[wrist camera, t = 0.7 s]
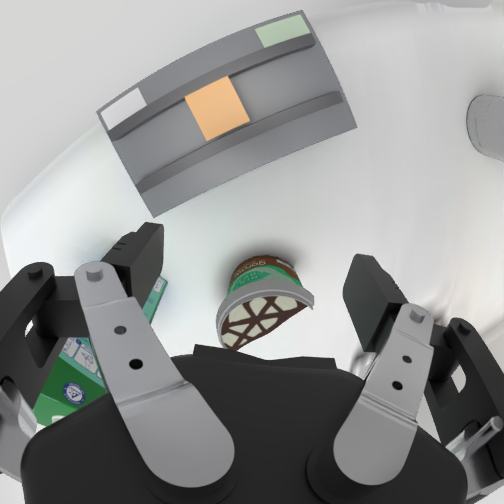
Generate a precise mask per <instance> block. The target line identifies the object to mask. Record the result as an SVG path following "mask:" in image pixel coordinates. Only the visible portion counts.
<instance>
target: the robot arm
mask: <svg viewBox="0 0 504 504" xmlns="http://www.w3.org/2000/svg"><path fill="white" fill-rule="evenodd" d="M467 127H468V133H469V136H470V139H471V141H472V143H473V145H474V147H475V148H476V149H477V150H478V151H479V152H480V153H482V154H484V155H487V156H490V157H493V158H495V159H498V160H501V161H503V162H504V97H496V96H484V95H482V96H478V97H476V98H475V99H474V100H473V101H472V103H471V105H470V107H469V110H468V116H467ZM163 247H164V226H163V224H156V223H149V222H145V223H144V224H143V225H142V226H141V227H140V228H139V230H138V231H137V232H130V233H128V234H126V235H124V236H122V237H121V238H120V240H119V241H118V242H117V244H115V245H114V246H113V247H112V249H110V251H109V252H108V253H107V254H106V255H105V256H104V257H103V258H102V260H101V261H100V262H98V261H97V262H89V263H86V264H83V265H82V266H80V267H79V268H77V270H76V271H75V274H74V276H55V274H54V269H53V266H52V265H51V264H49V263H45V262H36V263H32V264H29V265H27V266H25V267H24V268H22V269H21V270H20V271H19V272H18V273H17V274H16V275H15V276H14V278H13V279H12V280H11V281H10V282H9V283H8V284H7V285H6V286H5V287H4V288H3V289H2V291H1V292H0V474H2V473H4V474H6V475H8V476H10V477H11V478H13V479H15V480H17V481H19V482H21V483H22V487H23V491H24V499H25V504H474V503H476V502H477V501H479V500H481V499H482V498H484V497H486V496H487V495H489V494H490V493H492V492H494V491H495V490H497V489H498V488H500V487H501V486H503V485H504V373H503V372H502V370H501V368H500V367H499V365H498V364H497V362H496V360H495V359H494V357H493V355H492V354H491V352H490V351H489V349H488V347H487V346H486V344H485V343H484V341H483V340H482V338H481V337H480V335H479V334H478V332H477V331H476V329H475V328H474V327H473V326H472V325H471V324H470V323H469V322H467V321H466V320H464V319H461V318H452V319H451V321H450V322H449V324H448V326H447V327H443V326H439V325H436V324H433V323H434V320H433V317H432V315H431V314H430V313H429V312H428V311H427V310H426V309H424V308H423V307H421V306H419V305H416V304H412V303H409V302H408V301H407V299H406V298H405V296H404V295H403V293H402V292H401V290H400V289H399V287H398V286H397V284H395V281H394V280H393V278H392V277H391V276H390V275H389V274H388V273H387V272H386V271H384V270H383V269H382V268H381V266H380V265H379V263H378V262H377V261H376V259H375V258H374V257H373V256H369V255H363V254H356V255H355V256H354V258H353V260H352V263H351V266H350V269H349V272H348V275H347V278H346V280H345V283H344V287H343V299H344V302H345V304H346V307H347V309H348V312H349V314H350V317H351V319H352V322H353V325H354V327H355V330H356V332H357V335H358V337H359V340H360V343H361V345H362V348H363V351H364V352H376V356H375V357H374V359H373V361H372V363H371V365H370V367H369V368H368V370H367V372H366V374H365V376H364V377H363V379H361V378H359V377H358V376H356V375H354V374H352V373H349V372H347V371H344V370H341V369H337V367H336V363H335V359H334V358H320V357H304V356H301V357H294V358H285V359H277V360H264V359H261V358H257V357H254V356H251V355H247V354H244V353H241V352H238V351H235V350H232V349H225V348H218V347H211V346H205V345H198V344H195V347H194V351H193V354H187V355H179V356H175V357H169V356H168V354H167V352H166V351H165V349H164V347H163V346H162V344H161V342H160V341H159V339H158V337H157V336H156V334H155V332H154V331H153V329H152V327H151V325H150V324H149V322H148V320H147V318H146V316H145V315H144V313H143V311H142V309H143V307H144V305H145V303H146V301H147V299H148V297H149V295H150V293H151V291H152V289H153V287H154V285H155V283H156V281H157V279H158V277H159V275H160V273H161V271H162V266H163ZM31 320H32V323H33V326H32V328H31V329H30V331H29V332H28V334H27V335H26V337H25V330H26V327H27V325H28V324H29V322H30V321H31ZM68 337H72V338H88V339H89V343H90V346H91V349H92V352H93V355H94V358H95V361H96V364H97V367H98V370H99V373H100V376H101V378H102V381H103V384H104V387H105V389H106V392H107V393H105V394H103V395H102V396H100V397H98V398H97V399H95V400H93V401H91V402H90V403H88V404H86V405H84V406H83V407H81V408H79V409H77V410H76V411H74V412H72V413H70V414H69V415H67V416H65V417H63V418H61V419H60V420H58V421H56V422H54V423H52V424H51V425H49V426H47V427H45V428H43V429H42V430H40V431H39V432H37V433H36V434H35V431H36V427H37V420H36V416H35V414H34V412H33V408H34V406H35V404H36V402H37V399H38V397H39V395H40V393H41V391H42V388H43V386H44V384H45V382H46V380H47V378H48V376H49V374H50V372H51V370H52V368H53V366H54V364H55V362H56V360H57V358H58V356H59V354H60V353H61V351H62V349H63V347H64V345H65V343H66V341H67V340H68ZM459 365H461V367H462V369H463V371H464V373H465V375H466V383H465V386H464V388H463V390H461V392H460V393H458V390H457V388H456V386H455V384H454V382H453V380H452V377H451V375H452V374H453V372H454V371H455V370H456V369H457V367H458V366H459ZM423 393H424V395H425V398H426V401H427V403H428V406H429V409H430V411H431V414H432V417H433V420H434V423H435V426H436V429H437V432H438V435H439V438H440V441H441V443H439V442H438V441H437V440H436V439H434V438H433V437H432V436H431V435H430V434H428V433H427V432H426V431H425V430H423V429H422V428H421V427H420V426H419V425H418V423H417V421H416V416H417V413H418V409H419V406H420V403H421V400H422V396H423Z"/></svg>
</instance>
